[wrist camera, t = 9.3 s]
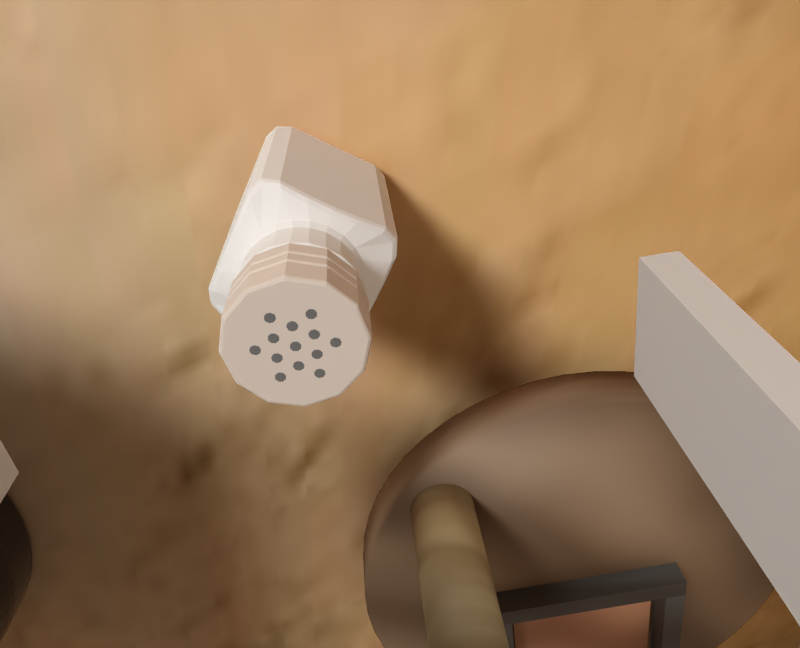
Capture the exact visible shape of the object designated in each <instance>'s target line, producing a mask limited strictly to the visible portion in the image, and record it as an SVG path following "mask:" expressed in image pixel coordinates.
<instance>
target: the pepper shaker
mask: <svg viewBox="0 0 800 648" xmlns="http://www.w3.org/2000/svg"><path fill="white" fill-rule="evenodd" d="M397 239H398V237H397V232H396V227H395V223H394V218H393V213H392V209H391V204H390V199H389V195H388V190H387V185H386V180H385V176H384V175H383V174H382V172H381V171H380V170H379V169H378V168H377V167H376V166H375V165H373V164H371V163H369V162H367V161H365V160H362V159H360V158H358V157H356V156H354V155H352V154H350V153H347V152H345V151H343V150H341V149H339V148H337V147H334V146H332V145H330V144H328V143H326V142H324V141H322V140H319V139H317V138H315V137H313V136H311V135H309V134H306V133H304V132H302V131H300V130H298V129H296V128H293V127H284V126H277V127H275V128H274V129H273V130H272V131H271V132H270V133H269V134H268V135H267V136H266V138H265V141H264V143H263V146H262V148H261V151H260V153H259V156H258V158H257V161H256V163H255V166H254V168H253V171H252V173H251V176H250V178H249V181H248V183H247V186H246V188H245V191H244V193H243V196H242V198H241V201H240V204H239V206H238V209H237V211H236V214H235V216H234V219H233V222H232V224H231V227H230V230H229V233H228V235H227V238H226V241H225V244H224V247H223V249H222V252H221V255H220V258H219V260H218V263H217V266H216V269H215V271H214V274H213V277H212V280H211V282H210V285H209V295H210V302H211V304H212V305H213V306H214V307H215V308H216V309H217V311H218V312H219V313H220V314H221V315H222V317H221V328H220V340H219V351H218V352H219V354H220V355H221V357H222V359H223V361H224V362H225V364H226V366H227V368H228V369H229V371H230V373H231V375H232V376H233V378H234V380H235V382H236V383H237V384H239V385H240V386H242V387H244V388H245V389H247V390H248V391H250V392H252V393H253V394H255V395H257V396H258V397H260V398H262V399H263V400H265V401H267V402H269V403H278V404H287V405H296V406H305V407H306V406H309V405H312V404H315V403H318V402H321V401H324V400H327V399H330V398H333V397H336V396H339V395H341V394H342V393H343V392H344V391H345V390H346V389H347V388H348V387H349V386H350V385H351V384H352V383H353V382H354V381H355V380H356V379H357V378H358V377H359V376H360V375H361V374H362V373H363V372H364V371H365V369H366V364H367V359H368V355H369V350H370V345H371V341H372V329H371V321H370V310H371V308H372V306H373V305H374V303H375V301H376V299H377V297H378V295H379V293H380V291H381V289H382V287H383V285H384V283H385V281H386V278H387V276H388V274H389V272H390V270H391V268H392V265H393V263H394V261H395V259H396V257H397Z"/></svg>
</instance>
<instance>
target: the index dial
mask: <svg viewBox="0 0 800 648" xmlns="http://www.w3.org/2000/svg"><path fill="white" fill-rule="evenodd" d="M363 559H364V580H365V597H366V603H367V610H368V615H369V618H370V620H371V623H372V626H373V629H374V631H375V633H376V635H377V636H378V638H379V640H380V641H381V643H382V645H383V646H384V648H716V647H717V646H719V645H720V644H721V643H722V642H724V641H725V640H726V639H727V638H729V637H730V636H731V635H732V634H734V633H735V632H736V631H737V630H738V629H739V628H740V627H741V626H742V625H743V624H744V623H746V622H747V621H748V620H749V619H750V618H751V617H752V616H753V615H754V613H755V612H756V611H757V610H758V609H759V608H760V606H761V605H762V604H763V603H764V602H765V600H766V599H767V598H768V596H769V595H770V593H771V592H772V590H773V589H774V586H773V585H772V583H771V582H770V580H769V579H768V577H767V576H766V574H765V573H764V571H763V570H762V568H761V567H760V565H759V564H758V562H757V561H756V559H755V558H754V556H753V555H752V553H751V552H750V550H749V549H748V547H747V546H746V544H745V543H744V541H743V540H742V538H741V537H740V535H739V534H738V532H737V531H736V529H735V528H734V526H733V525H732V523H731V522H730V520H729V519H728V517H727V516H726V514H725V512H724V511H723V509H722V508H721V506H720V505H719V503H718V502H717V500H716V499H715V497H714V496H713V494H712V493H711V491H710V490H709V488H708V487H707V485H706V484H705V482H704V481H703V479H702V478H701V476H700V475H699V473H698V472H697V470H696V469H695V467H694V466H693V464H692V463H691V461H690V460H689V458H688V457H687V455H686V454H685V452H684V451H683V449H682V448H681V446H680V445H679V443H678V442H677V440H676V439H675V437H674V436H673V434H672V433H671V431H670V430H669V428H668V427H667V425H666V424H665V422H664V421H663V419H662V418H661V416H660V415H659V413H658V412H657V410H656V408H655V407H654V405H653V404H652V402H651V401H650V399H649V398H648V396H647V395H646V393H645V392H644V390H643V389H642V387H641V386H640V384H639V383H638V381H637V380H636V378H635V377H634V373H633V372H625V371H594V372H585V373H576V374H567V375H561V376H556V377H551V378H547V379H542V380H538V381H533V382H530V383H527V384H524V385H521V386H518V387H515V388H512V389H509V390H506V391H503V392H501V393H498V394H496V395H494V396H492V397H490V398H487V399H485V400H483V401H481V402H478V403H476V404H474V405H472V406H471V407H469V408H467V409H466V410H464V411H462V412H461V413H459V414H457V415H455V416H454V417H452V418H450V419H449V420H447V421H446V422H445V423H443V424H442V425H441V426H439V427H438V428H437V429H435V430H434V431H433V432H431V433H430V434H428V435H427V436H426V437H425V438H424V439H423V440H422V441H420V442H419V443H418V444H417V445H416V446H415V447H414V448H413V449H412V450H411V451H410V452H409V453H408V454H407V455H406V456H405V457H404V458H403V459H402V461H401V462H400V463H399V464H398V466H397V467H396V468H395V469H394V471H393V472H392V473H391V474H390V475H389V477H388V479H387V480H386V482H385V484H384V485H383V487H382V489H381V490H380V492H379V494H378V495H377V497H376V500H375V502H374V505H373V507H372V510H371V512H370V515H369V517H368V522H367V526H366V531H365V535H364V553H363Z"/></svg>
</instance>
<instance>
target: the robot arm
mask: <svg viewBox="0 0 800 648" xmlns="http://www.w3.org/2000/svg"><path fill="white" fill-rule="evenodd" d="M634 377H635V378H636V380H637V381H638V383H639V384H640V386H641V387H642V389H643V390H644V392H645V393H646V395H647V396H648V398H649V399H650V401H651V402H652V404H653V405H654V407H655V408H656V410H657V412H658V413H659V415H660V416H661V418H662V419H663V421H664V422H665V424H666V425H667V427H668V428H669V430H670V431H671V433H672V434H673V436H674V437H675V439H676V440H677V442H678V443H679V445H680V446H681V448H682V449H683V451H684V452H685V454H686V455H687V457H688V458H689V460H690V461H691V463H692V464H693V466H694V467H695V469H696V470H697V472H698V473H699V475H700V476H701V478H702V479H703V481H704V482H705V484H706V485H707V487H708V488H709V490H710V491H711V493H712V494H713V496H714V497H715V499H716V500H717V502H718V503H719V505H720V506H721V508H722V509H723V511H724V512H725V514H726V516H727V517H728V519H729V520H730V522H731V523H732V525H733V526H734V528H735V529H736V531H737V532H738V534H739V535H740V537H741V538H742V540H743V541H744V543H745V544H746V546H747V547H748V549H749V550H750V552H751V553H752V555H753V556H754V558H755V559H756V561H757V562H758V564H759V565H760V567H761V568H762V570H763V571H764V573H765V574H766V576H767V577H768V579H769V580H770V582H771V583H772V585H773V586H774V588H775V589H776V591H777V592H778V594H779V595H780V597H781V598H782V600H783V601H784V603H785V604H786V606H787V607H788V609H789V610H790V612H791V613H792V615H793V617H794V618H795V620H796V621H797V623H798V624H799V626H800V363H799V362H798V361H797V360H796V359H795V358H794V357H793V356H792V355H791V354H790V353H789V352H787V351H786V350H785V349H784V348H783V347H782V346H781V345H780V344H779V343H778V342H777V341H776V340H775V339H773V338H772V337H771V336H770V335H769V334H768V333H767V332H766V331H765V330H764V329H763V328H762V327H761V326H759V325H758V324H757V323H756V322H755V321H754V320H753V319H752V318H751V317H750V316H749V315H748V314H747V313H745V312H744V311H743V310H742V309H741V308H740V307H739V306H738V305H737V304H736V303H735V302H734V301H733V300H731V299H730V298H729V297H728V296H727V295H726V294H725V293H724V292H723V291H722V290H721V289H720V288H719V287H717V286H716V285H715V284H714V283H713V282H712V281H711V280H710V279H709V278H708V277H707V276H706V275H705V274H703V273H702V272H701V271H700V270H699V269H698V268H697V267H696V266H695V265H694V264H693V263H692V262H691V261H689V260H688V259H687V258H686V257H685V256H684V255H683V254H682V253H681V252H680V251H676V252H670V253H663V254H657V255H651V256H644V257H639V272H638V296H637V320H636V343H635V367H634ZM18 474H19V472H18V470H17V468H16V466H15V465H14V463H13V461H12V459H11V458H10V456H9V454H8V452H7V450H6V449H5V447H4V445H3V443H2V442H1V440H0V641H1V639H2V638H3V636H4V635H5V633H6V631H7V629H8V627H9V625H10V623H11V621H12V619H13V617H14V615H15V612H16V610H17V608H18V606H19V604H20V602H21V600H22V598H23V596H24V594H25V591H26V589H27V586H28V583H29V580H30V576H31V569H32V554H31V547H30V542H29V538H28V535H27V532H26V529H25V526H24V524H23V522H22V520H21V518H20V516H19V514H18V512H17V510H16V509H15V507H14V506H13V504H12V503H11V501H10V500H9V499H8V497H7V496H6V493H7V492H8V490H9V488H10V487H11V485H12V484H13V482H14V480H15V479H16V477H17V475H18Z"/></svg>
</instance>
